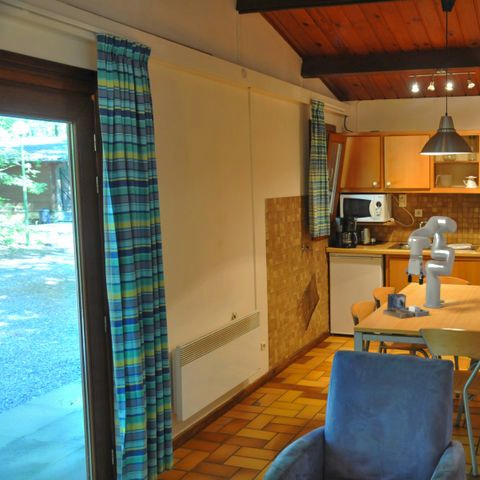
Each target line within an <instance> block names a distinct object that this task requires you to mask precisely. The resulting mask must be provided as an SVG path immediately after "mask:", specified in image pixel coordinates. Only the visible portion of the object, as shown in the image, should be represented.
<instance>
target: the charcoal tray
mask: <svg viewBox="0 0 480 480" xmlns="http://www.w3.org/2000/svg"><path fill="white" fill-rule="evenodd" d="M401 310H405V311H409V307H405V308H402V309H401ZM409 312H413V311H409ZM413 313H414V317H415V318H420V317H425V316H426V317H427V316H429V315H430V310H426V309H422V308H420V312H413Z"/></svg>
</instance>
